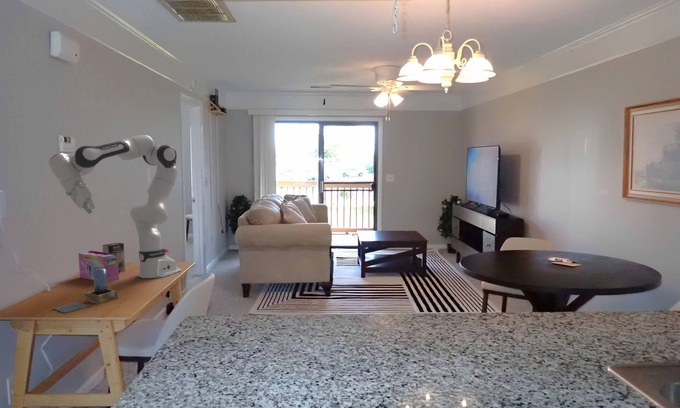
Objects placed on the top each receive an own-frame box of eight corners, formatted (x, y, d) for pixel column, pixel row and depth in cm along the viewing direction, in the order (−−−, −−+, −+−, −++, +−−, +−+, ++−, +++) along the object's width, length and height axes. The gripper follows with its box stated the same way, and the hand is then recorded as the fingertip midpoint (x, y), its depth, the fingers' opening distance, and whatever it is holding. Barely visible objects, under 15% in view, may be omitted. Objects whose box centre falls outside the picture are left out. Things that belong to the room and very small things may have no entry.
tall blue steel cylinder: (104, 297, 201) (102, 267, 200) (110, 298, 199) (108, 268, 197) (93, 300, 197) (90, 269, 196) (99, 302, 195) (97, 271, 193)
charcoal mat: (77, 302, 194) (77, 301, 194) (89, 306, 189) (89, 305, 189) (53, 309, 186) (52, 308, 185) (65, 313, 180) (65, 312, 180)
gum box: (77, 277, 237) (75, 253, 236) (91, 274, 244) (90, 250, 243) (106, 282, 226) (104, 256, 225) (119, 279, 233) (118, 253, 232)
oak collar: (106, 295, 204) (105, 287, 204) (117, 298, 199) (117, 290, 199) (85, 300, 197) (85, 293, 196) (97, 304, 192) (96, 296, 191)
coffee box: (110, 274, 243) (108, 245, 241) (103, 273, 246) (101, 245, 244) (125, 270, 251) (123, 243, 249) (118, 269, 254) (116, 242, 252)
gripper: (84, 176, 199) (102, 202, 200) (78, 188, 214) (95, 212, 216) (70, 182, 195) (88, 208, 196) (65, 194, 211) (82, 218, 212)
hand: (92, 210), depth 206 cm, fingers open, 8 cm apart
